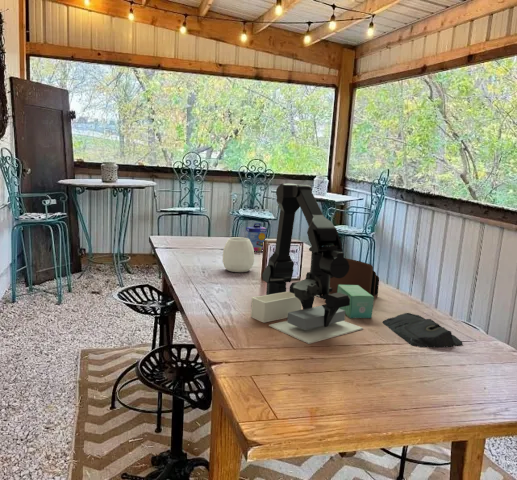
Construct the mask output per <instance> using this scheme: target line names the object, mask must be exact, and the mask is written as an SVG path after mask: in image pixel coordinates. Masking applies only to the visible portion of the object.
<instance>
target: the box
mask: <svg viewBox="0 0 517 480" xmlns="http://www.w3.org/2000/svg"><path fill="white" fill-rule="evenodd" d="M337 293H342V294H345V295H348V296H349V298H350V305H349V306H345V307H340V308H339V309H342V310H345V316H347V317H348V318H349V319H372V317H373V309H374V302H375V301H374V300H375V299H374V297H373V296H372V295H371V294H369V293H368V292H367V291H365V290H364V289H362V288H361V287H360V286H358V285H338V291H337Z"/></svg>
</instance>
